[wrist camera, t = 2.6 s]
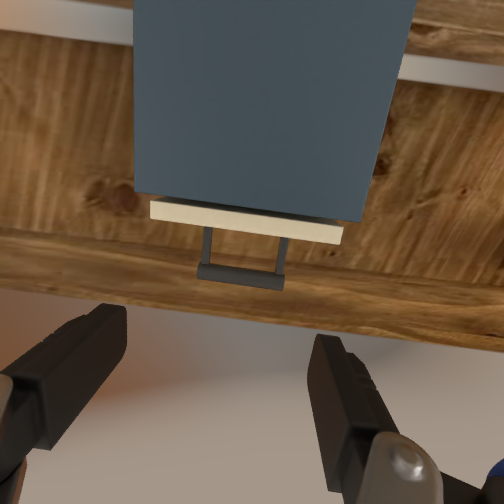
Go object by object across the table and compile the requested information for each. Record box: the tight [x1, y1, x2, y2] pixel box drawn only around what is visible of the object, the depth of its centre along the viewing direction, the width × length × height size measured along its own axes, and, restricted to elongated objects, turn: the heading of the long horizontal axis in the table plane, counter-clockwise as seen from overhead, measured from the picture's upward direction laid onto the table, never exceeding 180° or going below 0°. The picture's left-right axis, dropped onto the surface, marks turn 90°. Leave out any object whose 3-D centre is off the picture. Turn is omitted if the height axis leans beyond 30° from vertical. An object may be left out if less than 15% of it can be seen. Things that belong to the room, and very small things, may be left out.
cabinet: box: [133, 0, 417, 223], centre depth 18 cm, size 16×14×11 cm
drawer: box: [150, 197, 343, 291], centre depth 20 cm, size 20×12×9 cm, turn 173°
